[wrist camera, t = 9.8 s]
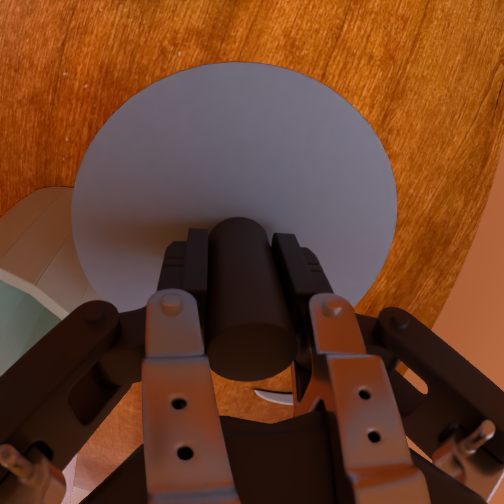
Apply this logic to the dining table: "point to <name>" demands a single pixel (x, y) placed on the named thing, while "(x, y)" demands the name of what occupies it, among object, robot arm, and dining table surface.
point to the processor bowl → (37, 271)
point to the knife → (276, 397)
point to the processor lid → (234, 200)
